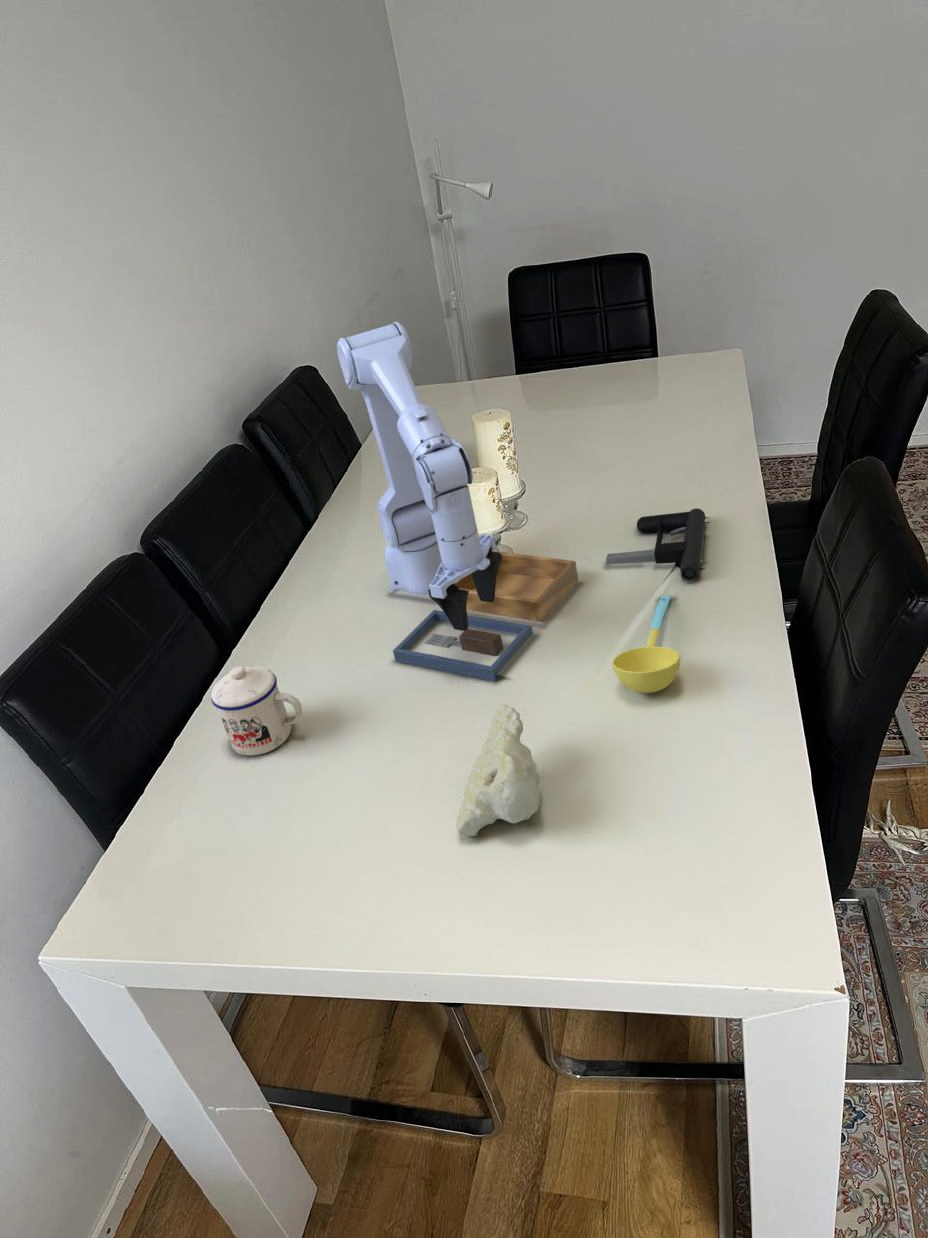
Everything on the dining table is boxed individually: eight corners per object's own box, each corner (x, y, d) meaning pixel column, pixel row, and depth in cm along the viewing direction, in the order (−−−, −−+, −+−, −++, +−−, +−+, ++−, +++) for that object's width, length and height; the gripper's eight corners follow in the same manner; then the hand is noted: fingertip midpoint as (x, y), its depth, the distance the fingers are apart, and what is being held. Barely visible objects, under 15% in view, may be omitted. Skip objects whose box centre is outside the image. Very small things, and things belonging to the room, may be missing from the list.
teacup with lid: (220, 758, 135) (192, 691, 129) (246, 716, 143) (220, 651, 137) (299, 758, 132) (274, 689, 126) (321, 715, 139) (299, 648, 133)
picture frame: (395, 661, 147) (392, 650, 146) (436, 620, 155) (433, 609, 154) (495, 682, 138) (492, 670, 137) (533, 637, 146) (531, 625, 145)
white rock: (517, 875, 110) (588, 761, 109) (464, 848, 107) (535, 731, 107) (483, 824, 124) (545, 723, 124) (435, 799, 122) (498, 696, 122)
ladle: (610, 705, 127) (605, 664, 126) (641, 631, 151) (637, 595, 149) (679, 704, 124) (674, 662, 122) (699, 628, 148) (696, 592, 146)
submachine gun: (600, 573, 153) (705, 563, 148) (616, 514, 169) (711, 503, 164) (604, 591, 155) (708, 582, 149) (619, 531, 171) (713, 521, 165)
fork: (504, 648, 144) (501, 633, 142) (495, 657, 142) (492, 643, 141) (433, 635, 150) (430, 621, 149) (425, 644, 149) (421, 630, 147)
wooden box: (451, 611, 157) (446, 589, 154) (490, 572, 165) (486, 550, 163) (542, 626, 148) (538, 602, 146) (579, 584, 156) (575, 560, 154)
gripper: (453, 561, 127) (472, 646, 134) (507, 509, 137) (522, 591, 144) (409, 555, 131) (430, 638, 138) (464, 505, 141) (481, 585, 148)
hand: (474, 614), depth 141 cm, fingers open, 7 cm apart
